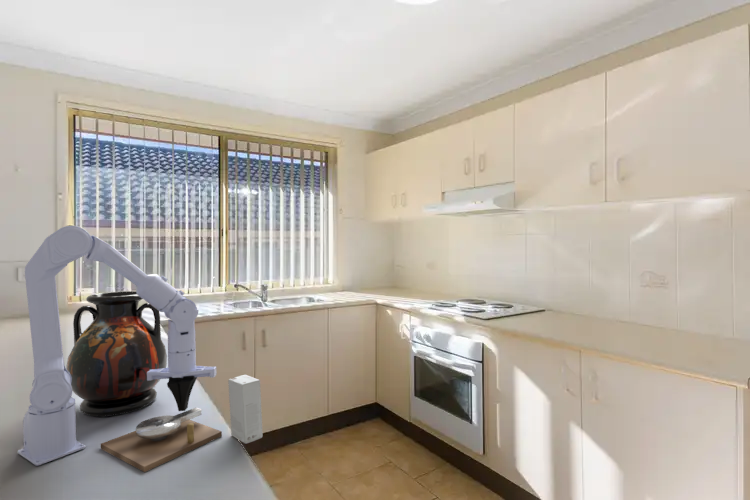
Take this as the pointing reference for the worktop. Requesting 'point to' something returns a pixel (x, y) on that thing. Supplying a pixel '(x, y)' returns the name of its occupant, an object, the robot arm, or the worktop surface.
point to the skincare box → (245, 408)
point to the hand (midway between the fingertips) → (183, 409)
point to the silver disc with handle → (164, 424)
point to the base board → (160, 445)
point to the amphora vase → (115, 355)
